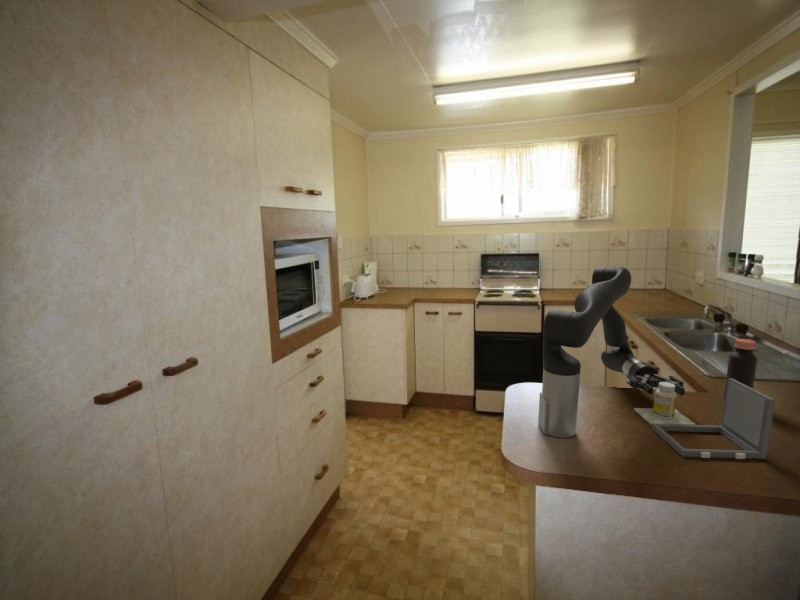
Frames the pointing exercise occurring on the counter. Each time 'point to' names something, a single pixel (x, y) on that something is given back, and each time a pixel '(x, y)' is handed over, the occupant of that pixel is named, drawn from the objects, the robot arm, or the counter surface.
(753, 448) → the access hatch
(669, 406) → the supplement bottle
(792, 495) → the counter surface
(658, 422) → the mat
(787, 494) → the counter surface
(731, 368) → the vinegar
